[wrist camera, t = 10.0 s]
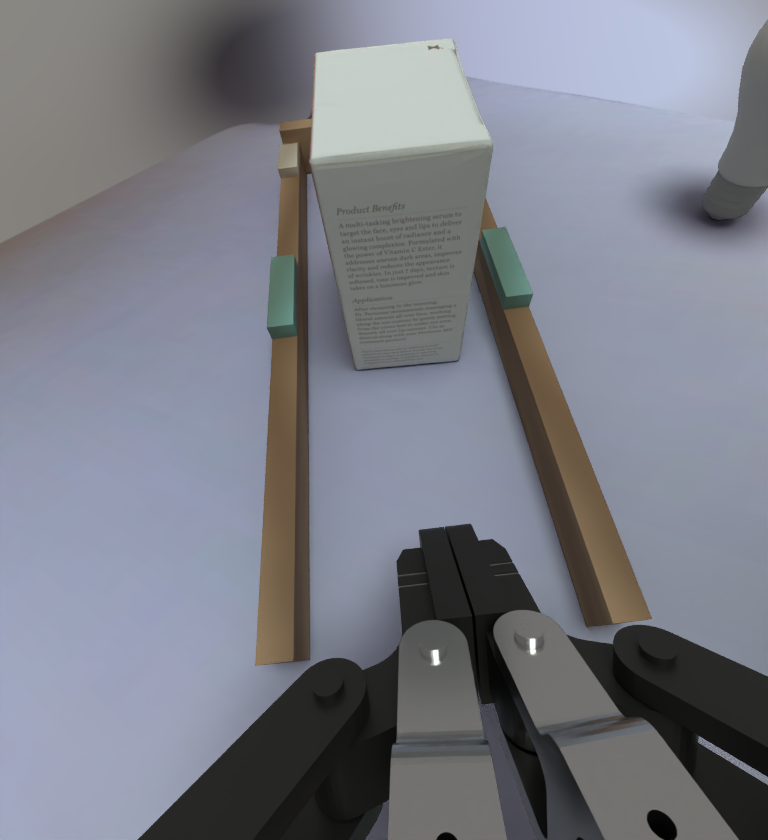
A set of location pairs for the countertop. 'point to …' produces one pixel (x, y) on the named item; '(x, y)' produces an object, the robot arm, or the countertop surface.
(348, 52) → the small box
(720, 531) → the countertop surface
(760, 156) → the lightbulb
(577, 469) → the u-shaped wooden frame
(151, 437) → the countertop surface
